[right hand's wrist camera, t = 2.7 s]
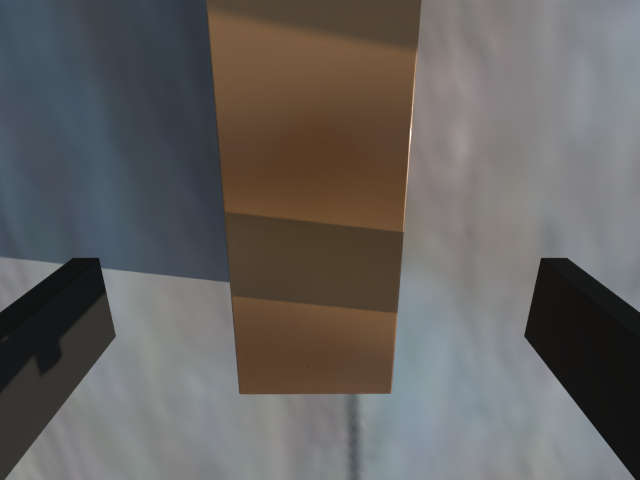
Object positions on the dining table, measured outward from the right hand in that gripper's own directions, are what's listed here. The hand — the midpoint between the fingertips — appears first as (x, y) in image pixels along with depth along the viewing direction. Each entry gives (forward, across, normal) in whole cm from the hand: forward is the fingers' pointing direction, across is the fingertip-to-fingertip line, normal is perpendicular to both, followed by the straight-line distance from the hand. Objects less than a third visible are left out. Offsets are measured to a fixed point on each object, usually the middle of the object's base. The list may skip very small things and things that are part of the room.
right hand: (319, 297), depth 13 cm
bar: (+9, 0, -9) cm, 12 cm away
